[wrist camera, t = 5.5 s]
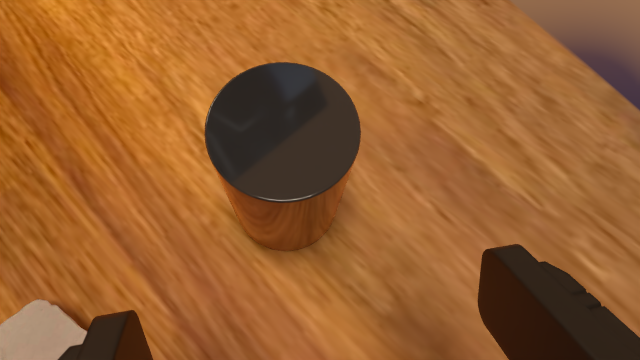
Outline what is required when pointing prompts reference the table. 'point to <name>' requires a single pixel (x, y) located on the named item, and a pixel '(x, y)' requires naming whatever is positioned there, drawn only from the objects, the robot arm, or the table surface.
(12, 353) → the stone tool
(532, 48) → the table surface
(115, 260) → the table surface
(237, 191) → the dark brown cylinder
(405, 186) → the table surface
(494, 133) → the table surface
